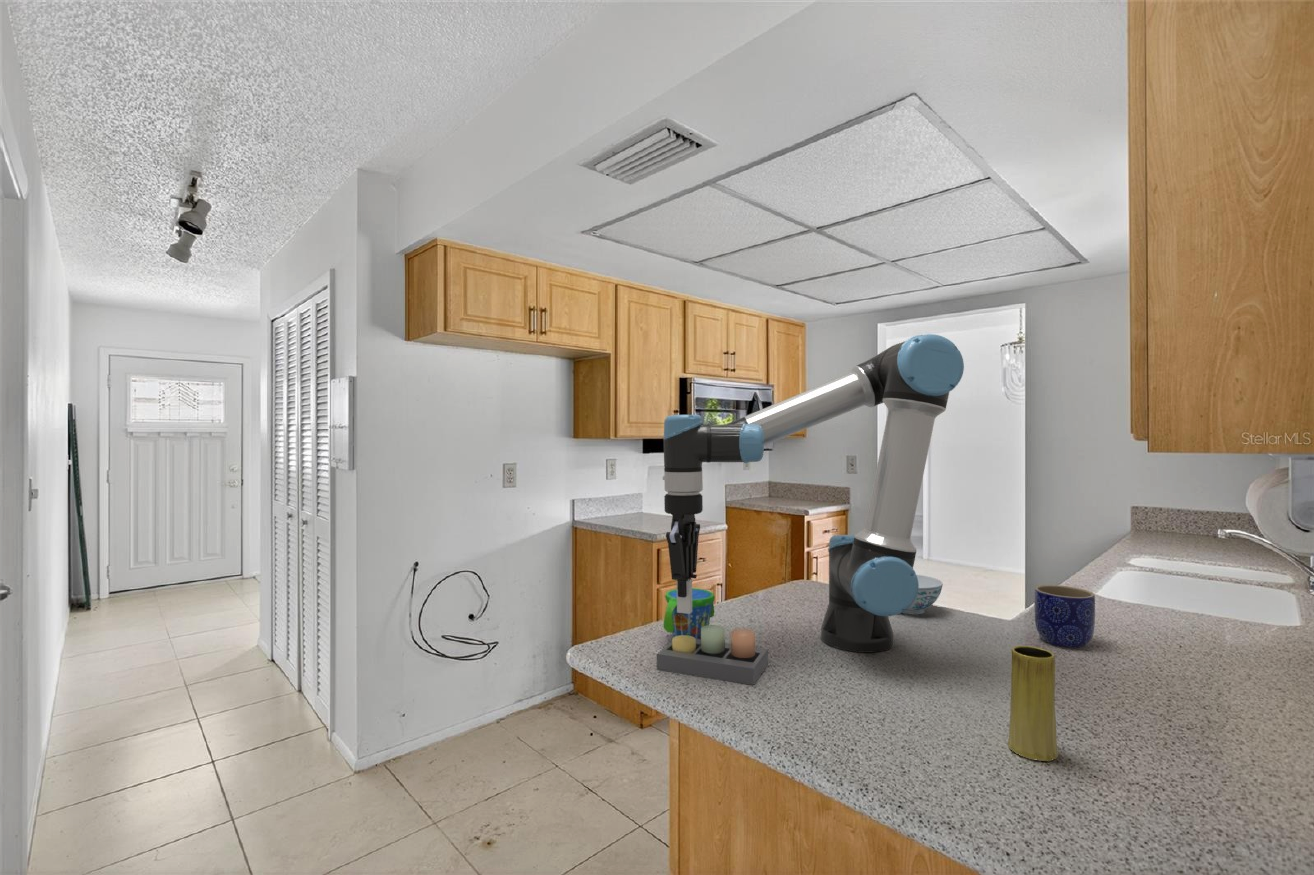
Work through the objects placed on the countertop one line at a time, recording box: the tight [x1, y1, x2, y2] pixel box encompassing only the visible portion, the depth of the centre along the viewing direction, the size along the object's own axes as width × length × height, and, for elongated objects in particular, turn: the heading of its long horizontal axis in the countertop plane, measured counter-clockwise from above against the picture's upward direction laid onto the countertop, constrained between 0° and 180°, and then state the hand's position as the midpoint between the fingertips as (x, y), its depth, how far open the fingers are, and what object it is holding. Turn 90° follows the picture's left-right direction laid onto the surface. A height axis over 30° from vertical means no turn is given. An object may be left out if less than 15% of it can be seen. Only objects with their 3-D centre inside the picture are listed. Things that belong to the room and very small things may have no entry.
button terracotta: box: [730, 628, 756, 658], centre depth 119 cm, size 5×5×4 cm
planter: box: [1033, 584, 1096, 649], centre depth 134 cm, size 11×11×11 cm
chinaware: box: [901, 574, 943, 615], centre depth 159 cm, size 15×15×8 cm
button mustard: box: [671, 635, 696, 653], centre depth 124 cm, size 5×5×4 cm
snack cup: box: [663, 587, 716, 640], centre depth 137 cm, size 16×10×10 cm
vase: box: [1007, 645, 1059, 762], centre depth 89 cm, size 6×6×14 cm
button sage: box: [701, 624, 726, 654], centre depth 121 cm, size 5×5×4 cm
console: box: [656, 639, 769, 686], centre depth 121 cm, size 19×11×3 cm, turn 66°
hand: (684, 612), depth 124 cm, fingers closed
